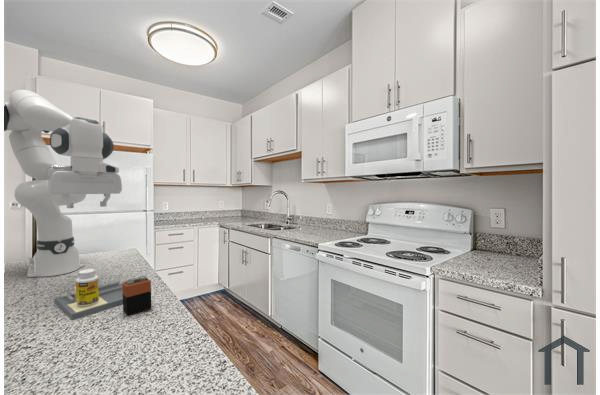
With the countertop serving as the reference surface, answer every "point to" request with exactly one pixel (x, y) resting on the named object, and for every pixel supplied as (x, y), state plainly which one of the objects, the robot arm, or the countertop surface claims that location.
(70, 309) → the board
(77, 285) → the supplement bottle
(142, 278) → the battery
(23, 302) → the countertop surface
